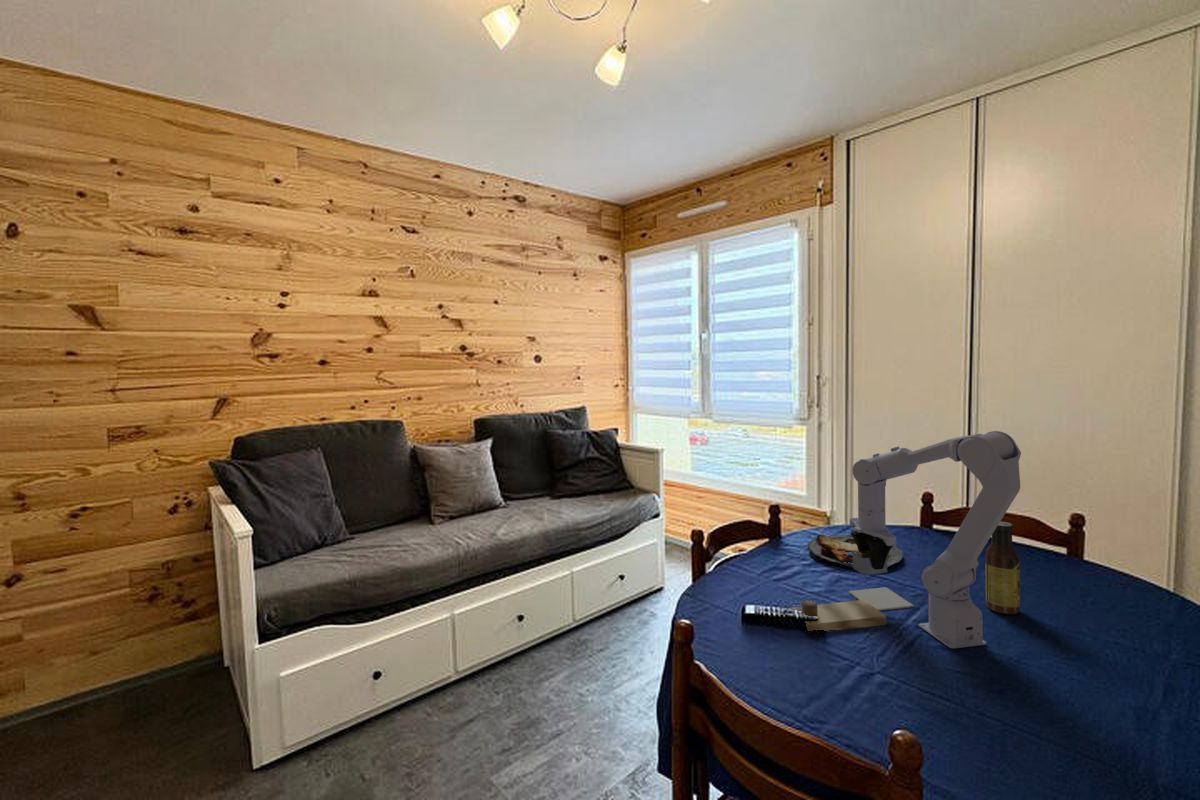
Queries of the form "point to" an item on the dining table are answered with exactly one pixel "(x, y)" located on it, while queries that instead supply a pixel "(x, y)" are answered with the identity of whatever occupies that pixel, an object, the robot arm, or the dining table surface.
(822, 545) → the food plate
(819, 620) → the body
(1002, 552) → the sauce bottle
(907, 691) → the dining table surface
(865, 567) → the grey block
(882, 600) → the rubber mat
